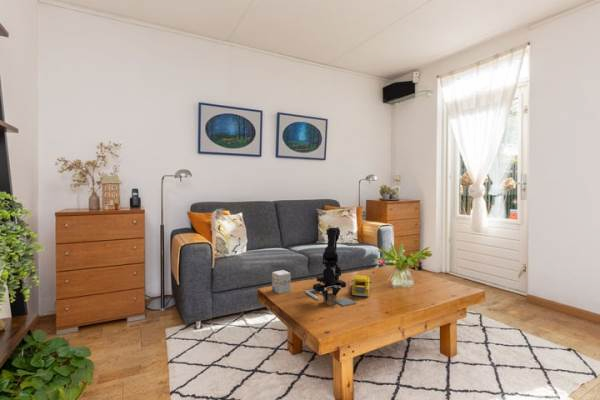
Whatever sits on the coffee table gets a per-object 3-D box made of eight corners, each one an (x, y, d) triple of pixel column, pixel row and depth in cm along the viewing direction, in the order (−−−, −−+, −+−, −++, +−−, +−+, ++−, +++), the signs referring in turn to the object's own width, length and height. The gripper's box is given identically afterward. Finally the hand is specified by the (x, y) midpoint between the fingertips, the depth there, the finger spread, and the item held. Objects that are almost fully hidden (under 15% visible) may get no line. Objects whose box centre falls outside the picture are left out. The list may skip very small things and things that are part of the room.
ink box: (271, 290, 197) (271, 271, 196) (282, 287, 202) (283, 269, 201) (279, 294, 190) (279, 275, 189) (290, 291, 195) (291, 272, 194)
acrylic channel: (317, 290, 197) (317, 288, 197) (329, 297, 185) (329, 295, 185) (305, 292, 193) (305, 290, 193) (317, 300, 181) (317, 298, 181)
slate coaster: (346, 298, 184) (346, 297, 184) (356, 303, 176) (356, 302, 176) (333, 300, 180) (333, 299, 180) (343, 306, 172) (343, 305, 172)
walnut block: (330, 300, 181) (330, 292, 181) (336, 304, 176) (336, 296, 175) (323, 301, 179) (323, 293, 178) (329, 305, 173) (329, 297, 173)
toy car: (371, 285, 208) (371, 270, 207) (370, 299, 184) (371, 282, 183) (352, 284, 211) (352, 269, 210) (349, 297, 187) (349, 280, 186)
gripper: (335, 267, 188) (335, 293, 189) (308, 271, 179) (307, 298, 180) (346, 272, 178) (346, 299, 179) (318, 276, 170) (318, 305, 170)
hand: (329, 300), depth 177 cm, fingers closed on walnut block, 4 cm apart
